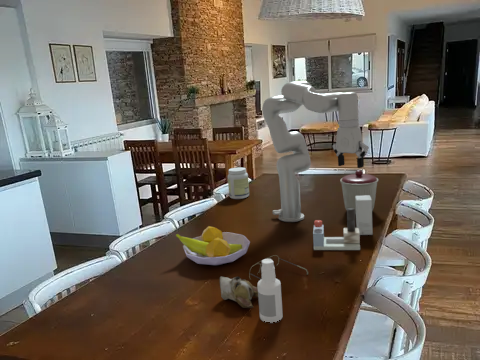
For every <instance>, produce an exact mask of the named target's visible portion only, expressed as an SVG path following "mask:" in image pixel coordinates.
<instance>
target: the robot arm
mask: <svg viewBox="0 0 480 360" xmlns="http://www.w3.org/2000/svg"><path fill="white" fill-rule="evenodd" d="M280 92H281V95H274V96H270V97H268V98H266V99H265V100H264V101H263V103H262V106H261V107H262V108H261V111H262V116H263V119H264V120H265V123H266V125H267V127H268V130H269V134H270V138H271V140H272V145H273V147H274V150H275V152H276V153H278V154H285V153H286V154H287V153H290V152H291V153H290V154H287V155H283V156H280V157H279V158H278V159H277V161H276V170H277V173H278V179H279V190H280V191H279V194H280V209H274V210H272V215H274V216H278V220H279V221H281V222H285V223H295V222H300V221H303V220H304V219H305V215H304V213H302V206H301V188H300V187H301V186H300V180H299V179H298V177H297V176H296V174H299V173H303V172H306V171H308V170H309V169H310V167H311V165H312V163H311V162H312V161H311V156H310V153H309V150H308V145H307V141H306V140H305V137H304V135H303V134H302V133H301V132H299V131H296V130H295V131H289V129H288V127H287V123H286V122H285V120H284V118H282V117H281V116H280V114H288V113H293V112H296V111H297V110H298V109H300V108H301V107H302V106H303V107H304V108H305V109H306V110H307V111H311V112H314V113H319V114H326V113H327V114H328V113H334V112H338V121H337V125H338V126H339V127H337V130H336V138H335V139H336V140H335V141H336V142H335V143H334V144H333V145H332V149H333V152H334V153H335V154H336V155H335V156H336V157H337V165H338V167H341V166H344V165H345V155H344V154H355V155H356V156H357V158H356V166H357V167H356V168H357V169H361V168H364V167H365V166H364V165H365V159H364V158H365V157H366V155H367V154H368V151H369V145H367V144H365V143H364V142H363V136H362V135H363V134H362V130H361V127H360V125H359V123H360V122H359V103H358V102H359V101H358V97H359V96H358V94H357V92H355V91H349V92H328V93H327V92H326V93H317V89H316V87H314V86H312V84H311V83H310V82H308V81H306V80H297V81H296V80H295V81H288V82H287V83H285V84H283V85H282V87H281V91H280Z"/></svg>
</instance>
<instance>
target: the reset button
mask: <svg viewBox="0 0 480 360" xmlns="http://www.w3.org/2000/svg"><path fill="white" fill-rule="evenodd" d="M322 225H323V220H320V219H315V220H314V222H313V227H314V226H315V227H322Z"/></svg>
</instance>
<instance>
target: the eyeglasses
mask: <svg viewBox="0 0 480 360" xmlns="http://www.w3.org/2000/svg"><path fill="white" fill-rule="evenodd" d="M273 256H274V257H277V258H278V263H277V264H276V266H278V265H279V262H280V260H282V261H284V262H286V263H289V264H290V265H293V266H295V267H299V268H300V269H302V270H305V271H306V275H309V271H308V269H307V268H305V267H302V266H300V265H298V264H294V263H292V262H290V261H287V260H285V259H282V258H280V256H278V255H276V254H275V255H271V256H268V257H266V259H271V257H273ZM260 262H261V263H262V260H260V261H258V262H256V263H255V264H253V265H252V266H250V269H249V273H248V274H249V275H248V277H249V279H251V276H253V277H254V278H257V279H259V280H261V279H262V277H261V278H260V277H258V275H257V276H256V275H255V274H253V273H251V269H252V267H254V266H256V265H259V270H258V273H261V268H262V264H261V263H260Z"/></svg>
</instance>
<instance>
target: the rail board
mask: <svg viewBox="0 0 480 360" xmlns="http://www.w3.org/2000/svg"><path fill="white" fill-rule="evenodd" d="M324 230H325V228H324V224H322V227H315V226H314V225H313V231H312V238H313V243H312V244H313V251H361V245H360V244H361V243H344V236H325V231H324Z"/></svg>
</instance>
